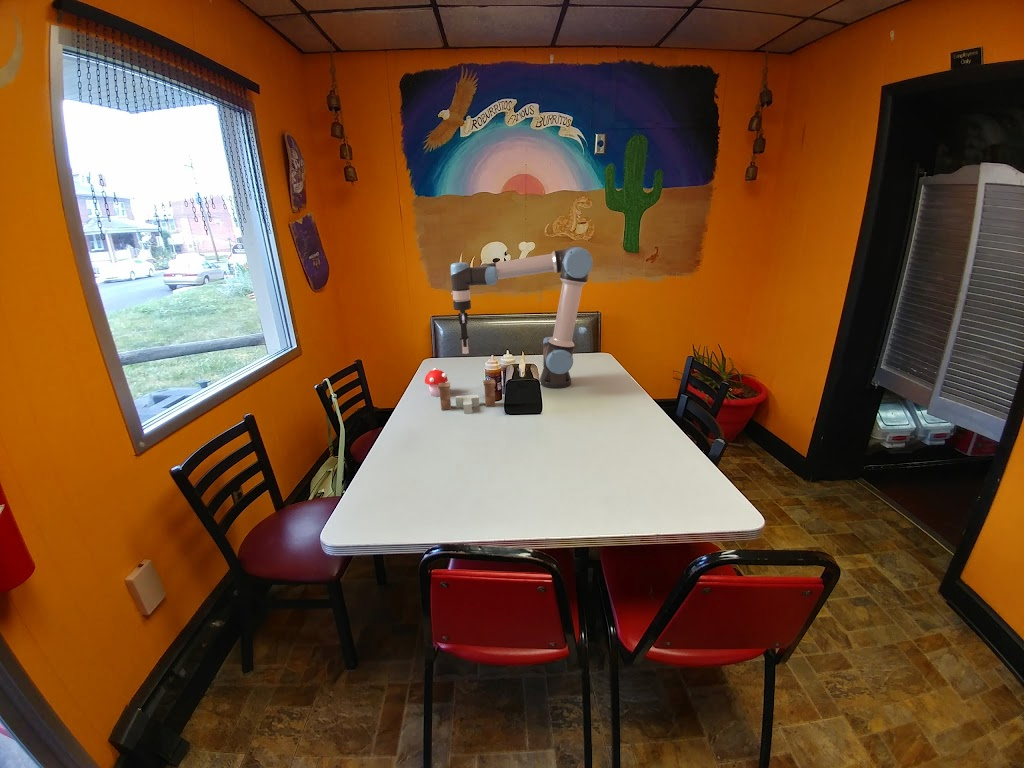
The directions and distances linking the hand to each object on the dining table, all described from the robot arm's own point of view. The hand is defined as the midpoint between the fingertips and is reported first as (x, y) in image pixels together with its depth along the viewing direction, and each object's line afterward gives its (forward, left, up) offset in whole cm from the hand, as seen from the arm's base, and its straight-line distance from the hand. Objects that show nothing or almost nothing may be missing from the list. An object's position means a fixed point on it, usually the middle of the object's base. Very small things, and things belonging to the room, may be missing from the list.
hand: (465, 353), depth 198 cm
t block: (+1, +15, -20) cm, 25 cm away
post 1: (+10, +13, -20) cm, 26 cm away
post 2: (-9, +13, -20) cm, 26 cm away
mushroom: (+14, -5, -21) cm, 26 cm away
